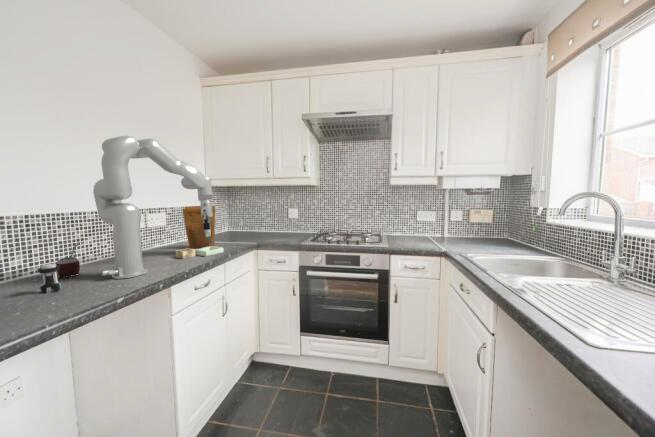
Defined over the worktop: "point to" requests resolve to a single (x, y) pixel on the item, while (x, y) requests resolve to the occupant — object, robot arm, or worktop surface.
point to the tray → (209, 251)
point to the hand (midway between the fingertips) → (207, 228)
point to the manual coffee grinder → (68, 265)
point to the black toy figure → (49, 278)
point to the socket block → (185, 253)
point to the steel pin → (208, 232)
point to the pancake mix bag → (198, 228)
